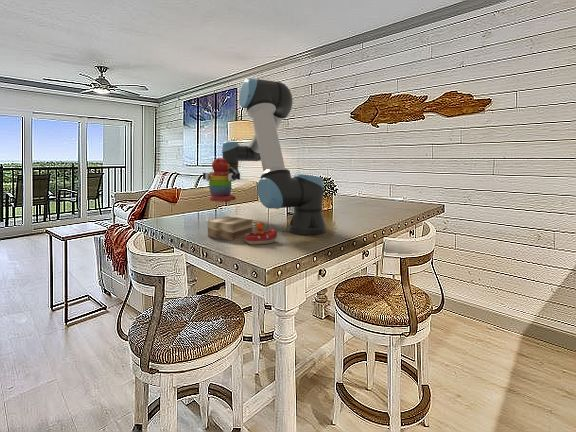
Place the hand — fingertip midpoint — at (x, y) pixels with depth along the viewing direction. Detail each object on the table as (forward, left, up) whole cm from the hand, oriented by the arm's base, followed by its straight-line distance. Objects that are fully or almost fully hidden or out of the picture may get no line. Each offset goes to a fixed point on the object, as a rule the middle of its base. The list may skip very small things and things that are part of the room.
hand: (217, 177), depth 147 cm
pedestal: (-12, +7, -22) cm, 26 cm away
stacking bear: (+2, -4, -10) cm, 11 cm away
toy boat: (-28, +9, -22) cm, 37 cm away
